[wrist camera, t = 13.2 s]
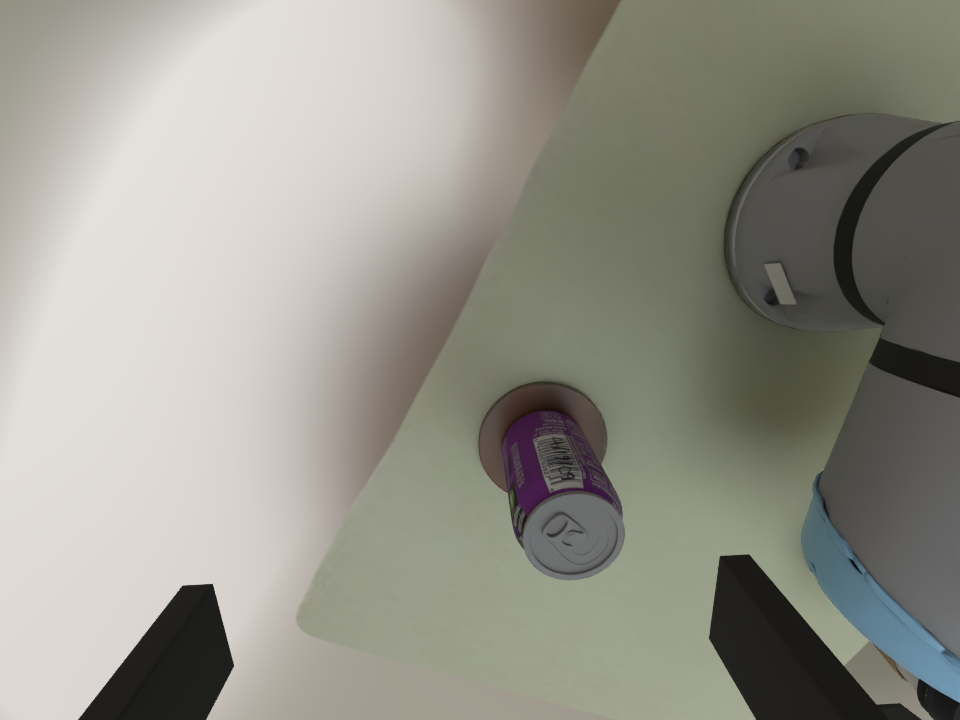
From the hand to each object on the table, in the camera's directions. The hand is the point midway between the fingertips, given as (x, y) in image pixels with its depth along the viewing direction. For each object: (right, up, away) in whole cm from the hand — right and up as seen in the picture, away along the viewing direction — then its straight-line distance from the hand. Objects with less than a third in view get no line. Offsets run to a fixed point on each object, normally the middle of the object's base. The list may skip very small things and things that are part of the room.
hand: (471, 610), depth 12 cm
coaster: (+6, 0, +28) cm, 28 cm away
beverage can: (+6, -1, +27) cm, 28 cm away
